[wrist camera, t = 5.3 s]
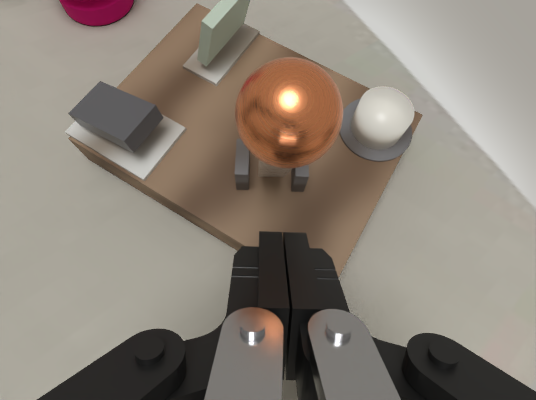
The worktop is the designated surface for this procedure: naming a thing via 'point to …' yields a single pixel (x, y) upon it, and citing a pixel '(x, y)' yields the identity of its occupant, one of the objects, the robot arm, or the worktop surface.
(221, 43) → the sign panel on base
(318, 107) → the toggle lever
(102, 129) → the block
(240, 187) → the console
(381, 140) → the button
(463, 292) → the worktop surface
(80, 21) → the pepper mill
